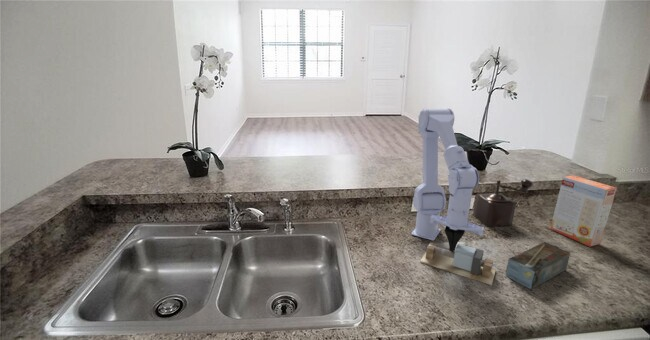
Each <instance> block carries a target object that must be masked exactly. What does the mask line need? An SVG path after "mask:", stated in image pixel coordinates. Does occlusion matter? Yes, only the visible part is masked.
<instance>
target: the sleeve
mask: <svg viewBox="0 0 650 340" xmlns="http://www.w3.org/2000/svg"><path fill="white" fill-rule="evenodd" d="M476 249H477V248H476V247H472V246H468V245H465V244H461V243H457V245H456V248H455V251H454V252H455V255H454V261H453V266H455V267H458V268H461V269H465V270H468V271H471V267H472V261H473V256H474V254H475V251H476Z"/></svg>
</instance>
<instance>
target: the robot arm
mask: <svg viewBox="0 0 650 340" xmlns="http://www.w3.org/2000/svg"><path fill="white" fill-rule="evenodd" d="M454 122H455V114H454V111H453V110H452V108H422V110H421V111H420V112H419V115H418V134H419V135H421V136H422V183H421V184H420V185H418V186H417V187H415V189H414V193H413V194H414V195H413V198H412V203H413V207H414V209H415V210H416V223H415V228H414V229H413V230H412V231H411V233H410V235H411V236H416V237H419V238H423V239H427V240H429V241H432V242H434V241H435V240H436V238H437V236H439V233H440V232H441V228H439V225H442V226H445V229H444V234H445V235H446V238H447V241H448V242H447V243H448V247H449V249H448V250H449V251H452V252H455V251H456V247H457V245H458V244H459V243H458V242H459V241H460V240H461V239H462V238H463V236H464V235H465V232H467V233H470V234H471V233H472V234H476V235H477V236H479V237H483V234H484V230H485V227H484V226H480V225H477V224H474V223H472V222H470V221H468V220H469V214H470V207H471V202H472V195H473V190H474V189H476V188H477V187H478V185H479V182H480V175H479V170H478V169H477V168H476V167H474V166H473V165H472V164H470V162H469V159H468V157H467V154H466V152H465V150H464V148H463V147H462V146H460V145H458V142H457V138H456V135H455V131H454V128H453V127H454V124H455V123H454ZM439 139H440V141H441V144H442V145H443V147H444V149H445V150H444V152H443V158H444V161H445V163H446V167H447V170H448V172H449V173H448V174H447V180H448V192H449V199H448V207H447V213H446V216H441V214H442V211H443V210H445V208H446V205H447V197H446V194H445V192H446V191H445V188H444V187H442V186H441V185H440V184H438V183H439V182H438V181H439V177H438V175H439V174H438V173H439V169H438V167H439V165H438V164H439V163H438V162H439V161H438V160H439V159H438V158H439V148H438V147H439Z"/></svg>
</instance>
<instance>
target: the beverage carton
mask: <svg viewBox="0 0 650 340" xmlns="http://www.w3.org/2000/svg"><path fill="white" fill-rule="evenodd" d="M570 256H571V253H570V251H567V250H564V249H562V248H560V247H558V246H555V245H553V244H550V243H548V242H545V241H544V242H541V243H539V244H537V245H535V246H534V247H531V248H529V249H527V250H524V251H523V252H521V253H519V254H516V255H514V256H512V257H510V258H508V261H507V265H506V269H505V276H506V277H507V278H510V279H511V280H513V281H515V282H517V283H518V284H520V285H522V286H524V287H525V288H527V289H530V290H533V289H534V288H536V287H538V286H540V285H541V284H543V283H545V282H547V281H549V280H551V279H552V278H555V277H556V276H557V275H559V274H561V273H563V272H565V271H566V270H567V267H568V264H569V260H570Z"/></svg>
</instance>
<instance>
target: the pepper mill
mask: <svg viewBox="0 0 650 340" xmlns="http://www.w3.org/2000/svg"><path fill="white" fill-rule="evenodd" d="M520 185H521V186H520V187H519V188H515V187H512V186H508V185H502V184H501V180H500V179H498V180H496V184H495V186H496V189H495V192H491V193H476V195H475V196H476V198H475V202H474V207H473V213H472V215H473V217H475V218H476V219H477V220H478V219H479V220H480V221H481V224H483V225H484V226H486V227H488V228H491V227H508V226H513V222H514V215H515V210H516V206H517V202H515V201H513V200H512V199H511V198H509V197H507V196H505V195H504V194H501V193H499V192H500V191H499V190H500V188H502V189H507V190H508V189H509V190H513V191H515V192H521V194H522V193H525V194H526V193H528V191H529V189H530V188H532V187H533V186H534V183H533V182H532V180H529V179H527V178H525V179H522V180H521V181H520ZM479 220H478V221H479ZM480 221H479V222H480Z"/></svg>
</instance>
